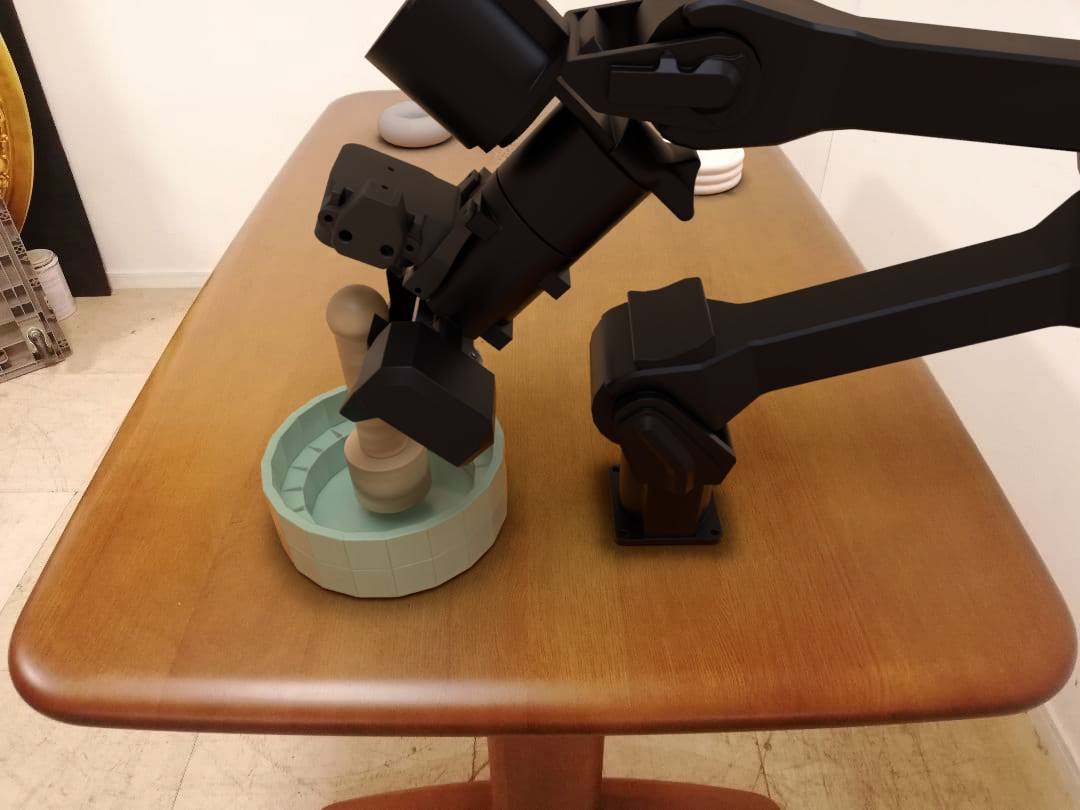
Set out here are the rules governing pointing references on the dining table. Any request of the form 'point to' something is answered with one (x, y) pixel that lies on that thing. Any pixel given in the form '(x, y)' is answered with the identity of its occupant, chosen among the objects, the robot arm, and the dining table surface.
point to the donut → (410, 126)
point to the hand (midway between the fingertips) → (351, 398)
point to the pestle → (374, 446)
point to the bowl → (370, 537)
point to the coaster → (718, 170)
